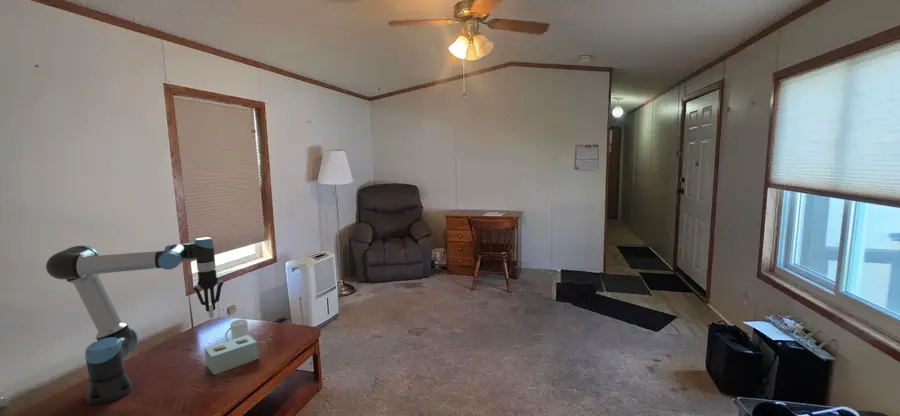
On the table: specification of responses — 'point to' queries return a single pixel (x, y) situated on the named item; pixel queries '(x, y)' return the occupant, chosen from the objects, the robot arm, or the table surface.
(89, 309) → the robot arm
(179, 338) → the table surface
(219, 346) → the peg near
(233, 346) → the socket block
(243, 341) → the peg far
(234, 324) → the mug
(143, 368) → the table surface
